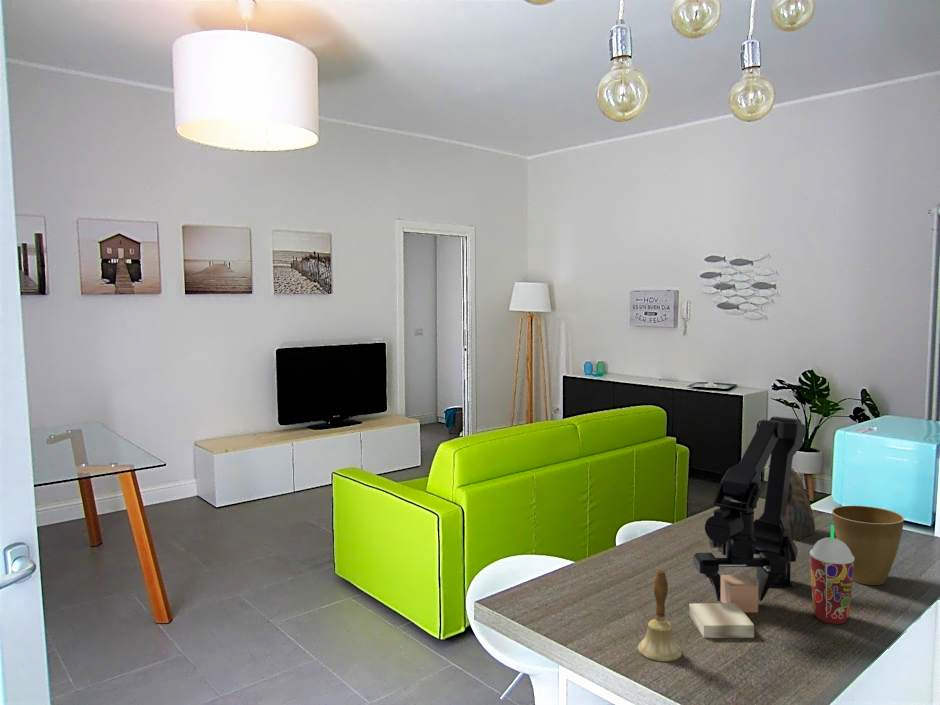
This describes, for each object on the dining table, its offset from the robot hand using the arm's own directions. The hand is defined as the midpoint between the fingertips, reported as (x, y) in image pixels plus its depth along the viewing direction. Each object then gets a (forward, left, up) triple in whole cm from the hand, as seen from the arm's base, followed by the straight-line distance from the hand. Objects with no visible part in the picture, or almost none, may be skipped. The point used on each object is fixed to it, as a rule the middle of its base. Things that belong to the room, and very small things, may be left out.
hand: (739, 600), depth 151 cm
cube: (0, 0, -1) cm, 1 cm away
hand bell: (+22, +19, -2) cm, 29 cm away
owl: (-32, -47, -2) cm, 57 cm away
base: (+7, +9, -2) cm, 12 cm away
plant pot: (-35, -14, -2) cm, 38 cm away
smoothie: (-17, +6, -2) cm, 18 cm away
